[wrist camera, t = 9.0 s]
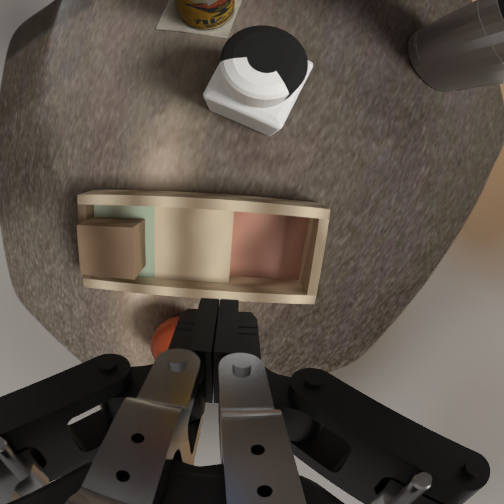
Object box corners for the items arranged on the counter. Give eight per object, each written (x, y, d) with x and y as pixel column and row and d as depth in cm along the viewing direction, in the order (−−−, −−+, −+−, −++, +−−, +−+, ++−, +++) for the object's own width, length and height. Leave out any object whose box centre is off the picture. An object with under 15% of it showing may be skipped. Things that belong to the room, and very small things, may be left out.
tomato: (209, 358, 37) (205, 400, 29) (155, 345, 36) (140, 385, 28) (221, 312, 35) (219, 352, 27) (161, 297, 34) (144, 334, 26)
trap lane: (317, 202, 31) (330, 209, 27) (305, 286, 34) (314, 304, 30) (96, 189, 29) (77, 194, 25) (99, 271, 32) (83, 286, 28)
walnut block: (145, 218, 28) (132, 227, 24) (145, 265, 30) (134, 279, 26) (94, 216, 28) (76, 225, 24) (96, 261, 29) (81, 274, 25)
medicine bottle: (237, 55, 26) (240, 2, 14) (298, 82, 27) (333, 42, 16) (208, 110, 28) (192, 80, 16) (270, 137, 29) (292, 123, 17)
